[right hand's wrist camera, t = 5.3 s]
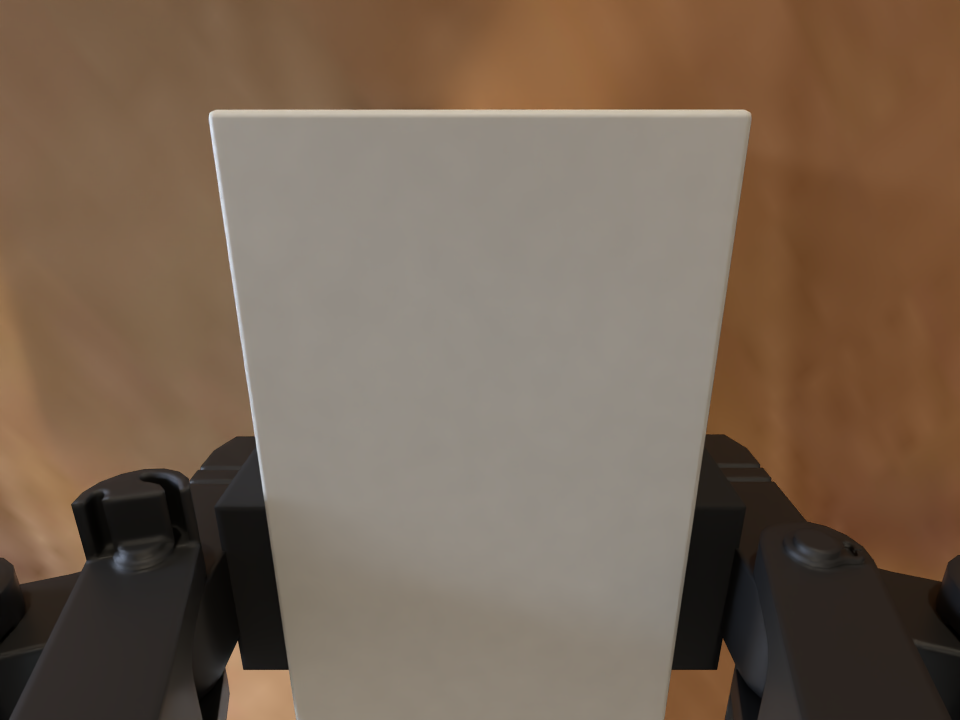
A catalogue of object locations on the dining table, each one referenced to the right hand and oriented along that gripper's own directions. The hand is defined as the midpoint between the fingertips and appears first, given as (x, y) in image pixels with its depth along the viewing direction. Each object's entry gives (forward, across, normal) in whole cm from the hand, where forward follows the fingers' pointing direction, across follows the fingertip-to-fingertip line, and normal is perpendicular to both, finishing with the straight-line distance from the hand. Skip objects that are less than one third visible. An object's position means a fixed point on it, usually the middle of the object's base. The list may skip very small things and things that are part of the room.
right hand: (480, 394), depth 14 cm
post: (+1, 0, -24) cm, 24 cm away
